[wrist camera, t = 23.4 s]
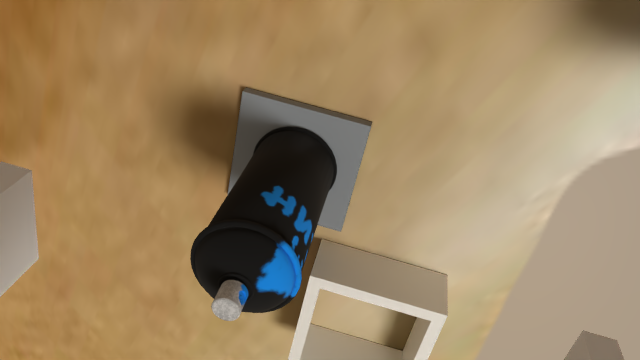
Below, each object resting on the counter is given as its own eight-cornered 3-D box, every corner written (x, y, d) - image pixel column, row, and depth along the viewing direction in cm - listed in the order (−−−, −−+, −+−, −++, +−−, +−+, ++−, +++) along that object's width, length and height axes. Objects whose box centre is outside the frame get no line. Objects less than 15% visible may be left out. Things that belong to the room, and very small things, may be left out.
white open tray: (447, 275, 58) (447, 315, 52) (409, 361, 65) (406, 404, 59) (321, 238, 58) (310, 275, 53) (298, 327, 65) (285, 367, 60)
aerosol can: (269, 207, 56) (195, 360, 39) (240, 135, 53) (144, 268, 36) (347, 194, 54) (303, 351, 37) (322, 117, 50) (261, 251, 33)
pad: (372, 122, 51) (371, 126, 50) (342, 226, 57) (341, 231, 56) (245, 87, 51) (242, 91, 51) (230, 193, 58) (227, 198, 57)
